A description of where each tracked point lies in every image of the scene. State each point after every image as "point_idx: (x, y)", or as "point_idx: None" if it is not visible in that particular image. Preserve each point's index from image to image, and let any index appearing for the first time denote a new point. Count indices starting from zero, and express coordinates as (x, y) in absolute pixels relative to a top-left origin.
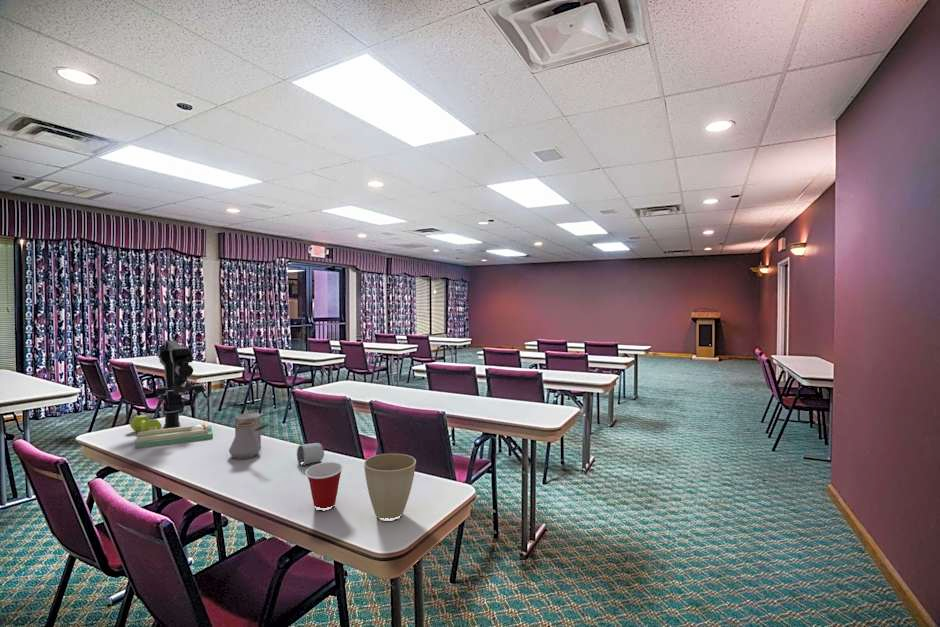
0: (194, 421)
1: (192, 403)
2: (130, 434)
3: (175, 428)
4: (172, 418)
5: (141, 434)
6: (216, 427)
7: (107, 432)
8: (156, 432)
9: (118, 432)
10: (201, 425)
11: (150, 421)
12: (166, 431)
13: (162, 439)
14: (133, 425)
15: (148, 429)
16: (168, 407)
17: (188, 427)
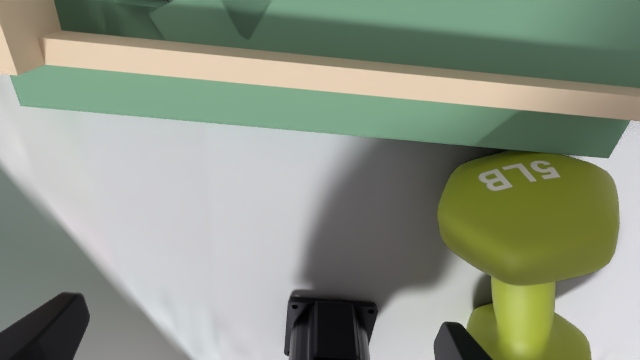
0: (208, 350)
1: (8, 342)
2: None
3: (343, 67)
4: (332, 349)
5: (631, 90)
6: (20, 144)
7: (629, 354)
8: (510, 78)
9: (594, 332)
10: (75, 40)
11: (580, 226)
12: (423, 70)
13: None
14: (575, 331)
15: (558, 166)
16: (461, 340)
17: (215, 53)
